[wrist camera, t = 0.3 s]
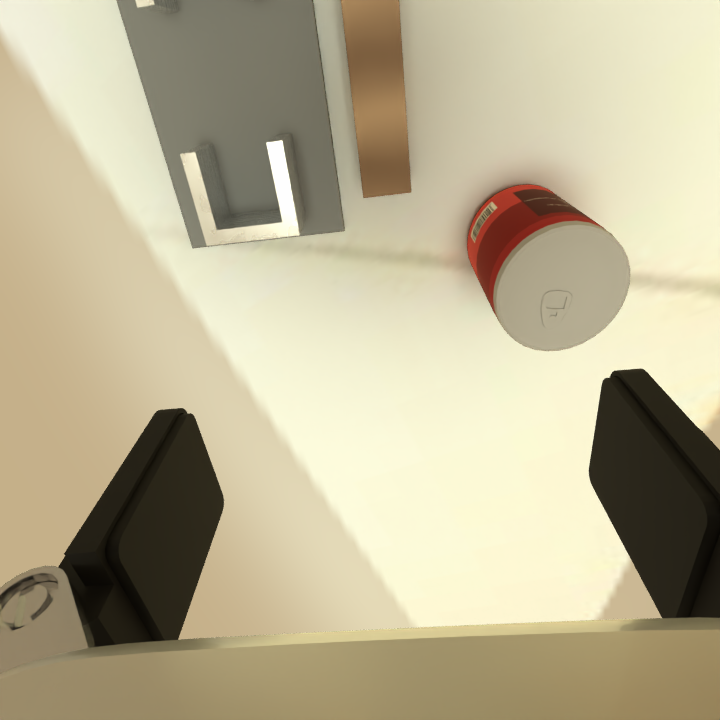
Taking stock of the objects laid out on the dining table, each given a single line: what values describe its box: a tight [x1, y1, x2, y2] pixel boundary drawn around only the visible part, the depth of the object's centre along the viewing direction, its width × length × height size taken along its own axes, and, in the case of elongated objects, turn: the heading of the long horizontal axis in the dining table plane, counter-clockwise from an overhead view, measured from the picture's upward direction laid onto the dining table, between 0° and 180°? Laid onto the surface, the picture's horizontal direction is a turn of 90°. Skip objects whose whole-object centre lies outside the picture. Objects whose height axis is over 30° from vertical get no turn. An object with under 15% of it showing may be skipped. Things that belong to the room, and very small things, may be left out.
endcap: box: [180, 133, 307, 246], centre depth 34 cm, size 6×7×4 cm
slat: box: [341, 0, 411, 198], centre depth 30 cm, size 16×3×4 cm, turn 7°
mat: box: [117, 0, 344, 248], centre depth 32 cm, size 22×12×1 cm, turn 7°
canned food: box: [467, 185, 630, 351], centre depth 33 cm, size 8×8×11 cm
